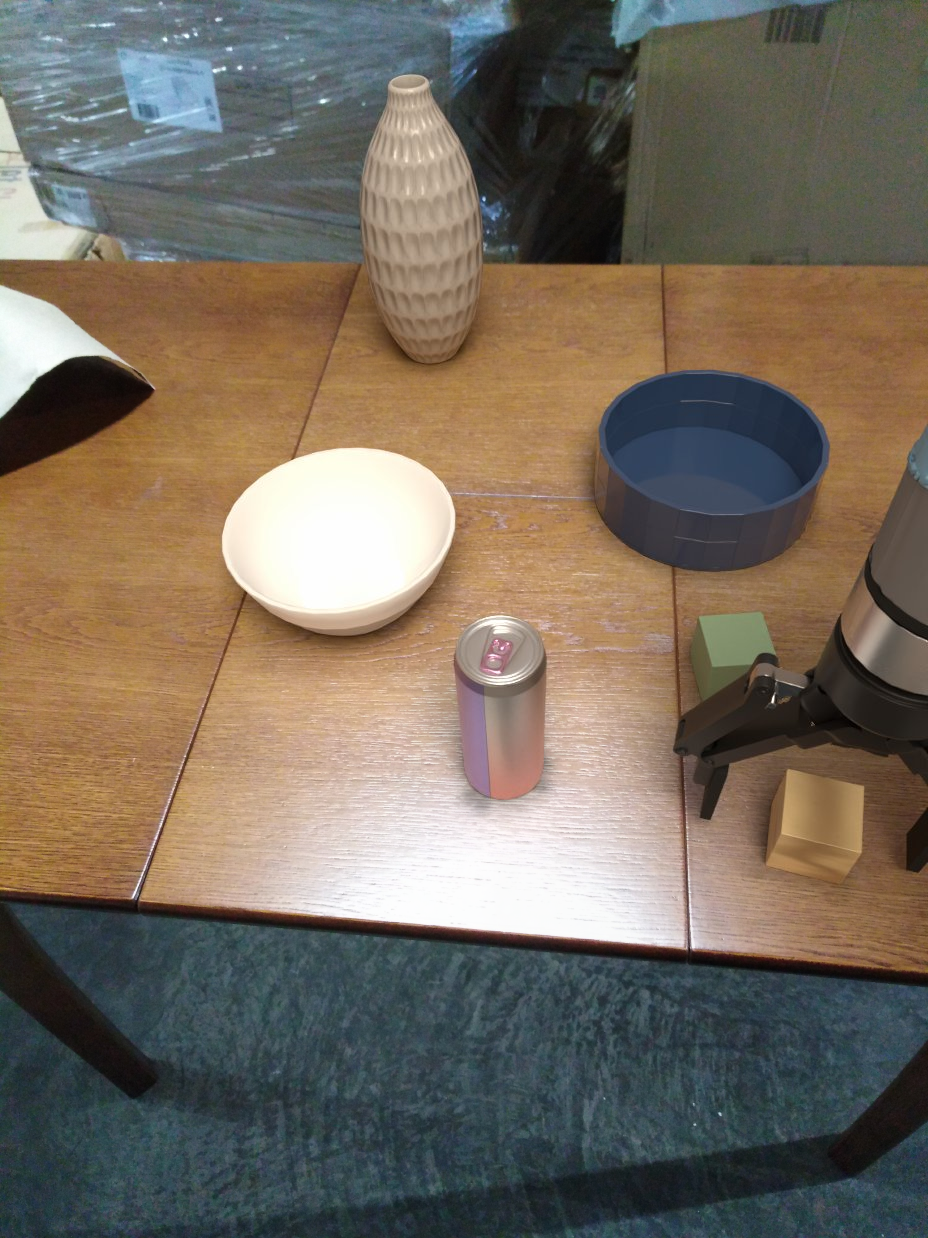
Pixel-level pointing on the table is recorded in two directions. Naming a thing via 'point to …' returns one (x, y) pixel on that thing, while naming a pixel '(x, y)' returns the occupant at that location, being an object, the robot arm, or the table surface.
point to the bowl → (340, 539)
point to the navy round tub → (708, 469)
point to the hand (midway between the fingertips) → (807, 827)
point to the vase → (421, 225)
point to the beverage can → (501, 704)
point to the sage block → (727, 648)
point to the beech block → (815, 826)
